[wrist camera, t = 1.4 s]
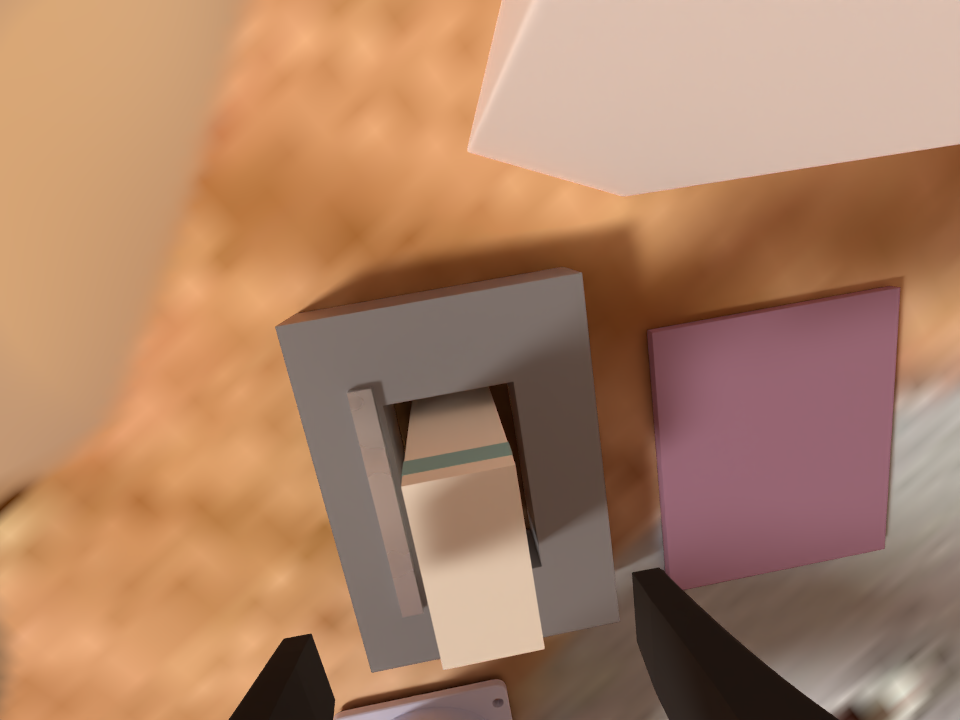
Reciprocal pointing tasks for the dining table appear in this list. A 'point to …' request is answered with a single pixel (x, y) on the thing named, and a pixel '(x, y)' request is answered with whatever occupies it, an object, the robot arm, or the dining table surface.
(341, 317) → the grey rectangular frame
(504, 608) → the striped tan bar
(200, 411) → the dining table surface
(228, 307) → the dining table surface
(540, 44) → the milk
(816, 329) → the mat
